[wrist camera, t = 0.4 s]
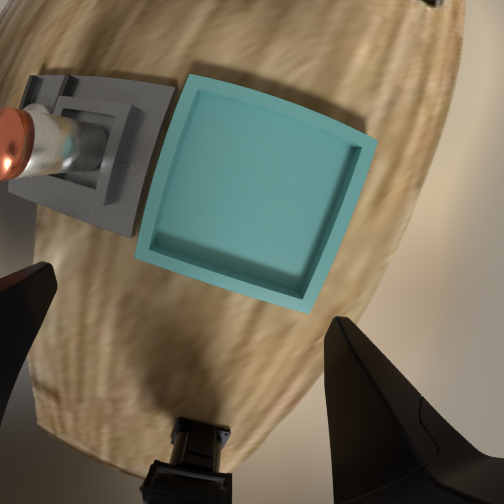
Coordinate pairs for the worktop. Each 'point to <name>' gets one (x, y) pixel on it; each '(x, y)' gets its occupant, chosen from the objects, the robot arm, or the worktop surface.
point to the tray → (252, 193)
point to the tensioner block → (116, 153)
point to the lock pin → (47, 144)
